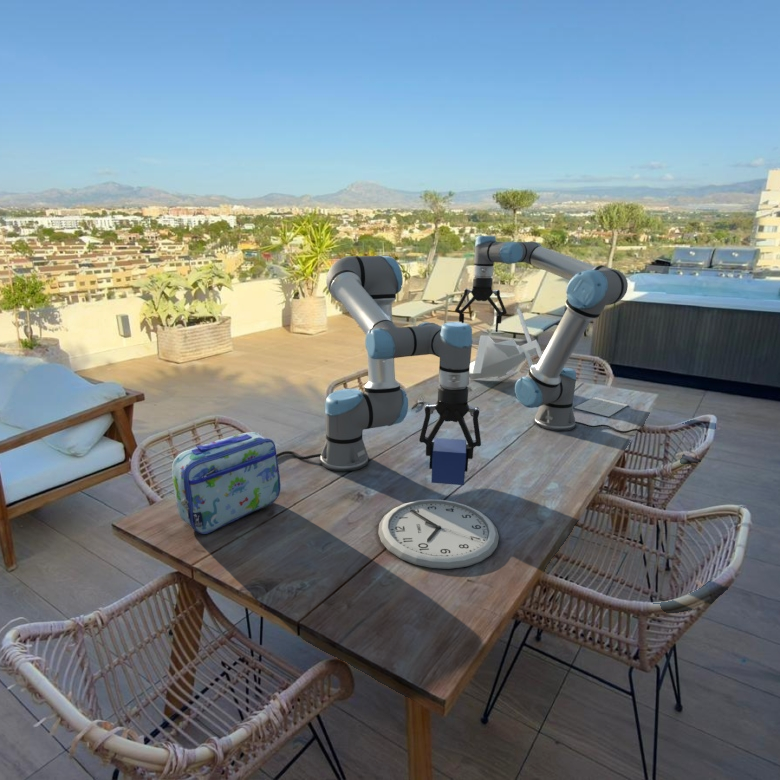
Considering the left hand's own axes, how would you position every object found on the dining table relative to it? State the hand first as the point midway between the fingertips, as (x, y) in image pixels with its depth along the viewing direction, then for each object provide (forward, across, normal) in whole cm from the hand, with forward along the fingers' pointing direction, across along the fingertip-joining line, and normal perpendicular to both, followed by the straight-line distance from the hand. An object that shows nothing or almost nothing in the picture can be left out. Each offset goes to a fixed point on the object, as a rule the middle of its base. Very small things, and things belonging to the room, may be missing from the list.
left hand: (448, 467), depth 137 cm
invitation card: (+13, +64, +98) cm, 118 cm away
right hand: (-20, +9, +85) cm, 88 cm away
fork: (+14, -15, +86) cm, 89 cm away
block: (+3, 0, 0) cm, 3 cm away
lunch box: (+13, -56, -11) cm, 58 cm away
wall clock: (+13, -2, -11) cm, 17 cm away
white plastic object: (+14, +25, +122) cm, 125 cm away
